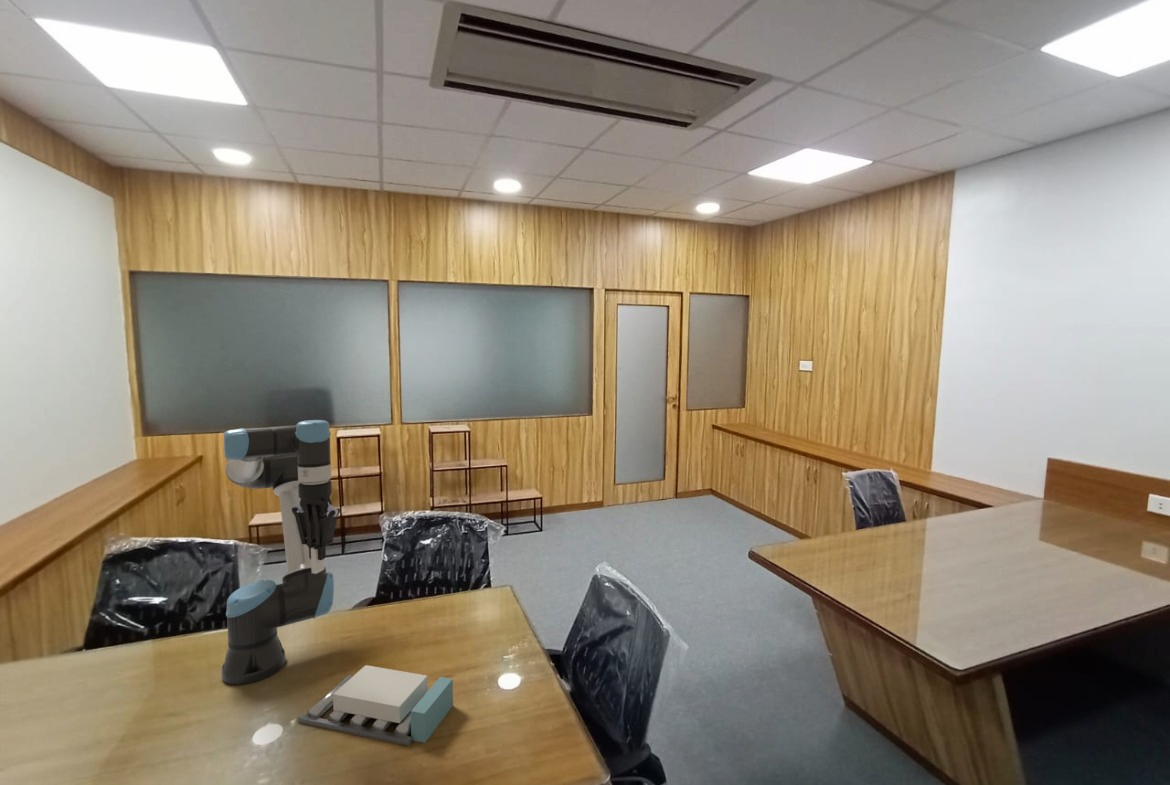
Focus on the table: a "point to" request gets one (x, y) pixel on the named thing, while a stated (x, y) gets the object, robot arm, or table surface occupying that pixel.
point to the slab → (380, 693)
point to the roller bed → (355, 721)
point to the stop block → (431, 709)
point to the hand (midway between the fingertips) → (317, 571)
